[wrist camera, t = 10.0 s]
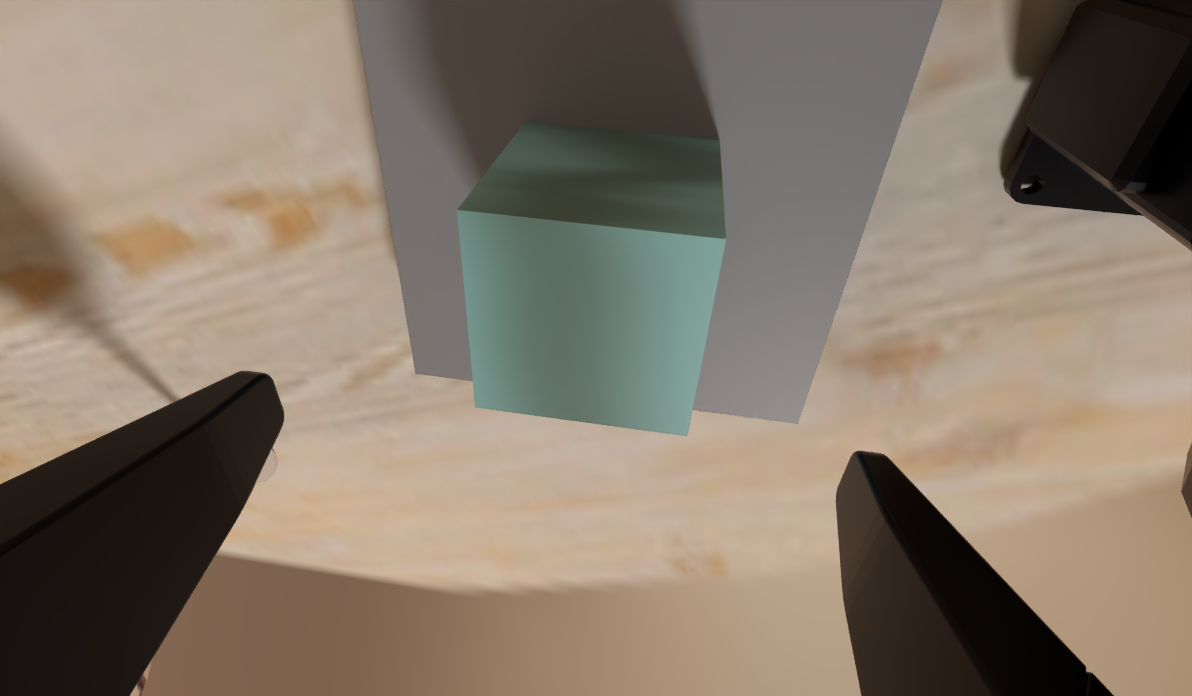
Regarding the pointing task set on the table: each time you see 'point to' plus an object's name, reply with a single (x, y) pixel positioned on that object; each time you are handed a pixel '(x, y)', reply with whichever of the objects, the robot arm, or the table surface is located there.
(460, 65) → the plinth
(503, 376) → the teal block
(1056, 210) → the table surface
